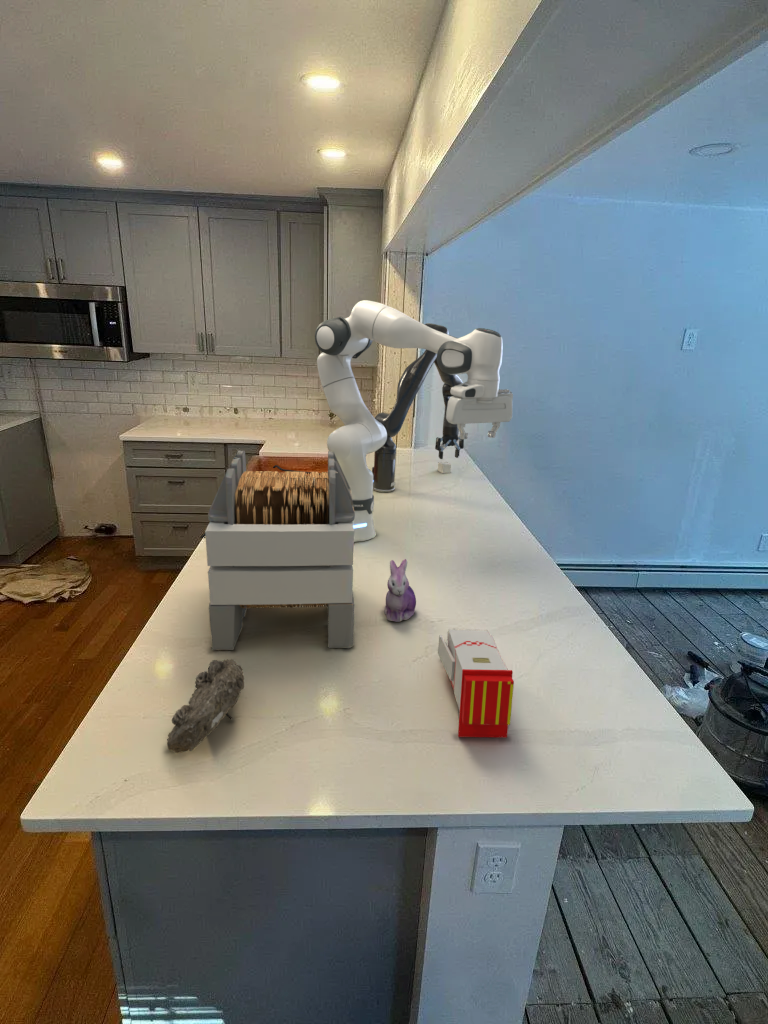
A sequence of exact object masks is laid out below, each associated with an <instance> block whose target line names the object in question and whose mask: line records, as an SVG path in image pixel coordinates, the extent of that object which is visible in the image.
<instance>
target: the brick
mask: <svg viewBox="0 0 768 1024" xmlns="http://www.w3.org/2000/svg"><path fill="white" fill-rule="evenodd" d="M451 471H452V463H450V462H448V461H439V462H437V472H439V473H441V474H451Z"/></svg>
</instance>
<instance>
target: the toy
mask: <svg viewBox="0 0 768 1024" xmlns="http://www.w3.org/2000/svg"><path fill="white" fill-rule="evenodd" d="M446 640H447V643H446V641H445V639H444V636H443V635H442V634H439V637H438V646H437V656H438V657H439V659H440V661H441V663H442V666H443V668H444V670H445V672H446V674H447V677H448V679H449V681H450V684H451V687H452V690H453V693H454V697H455V701H456V705H457V708H458V711H459V714H458V715H459V716H458V730H457V731H458V732H457V737H458V738H508V731H509V726H510V725H511V717H512V707H513V697H514V696H513V695H514V684H515V680H514V679H513V673H514V671H513V670H512V669H508V667H507V665H506V662H505V661H504V659H503V658H502V655H501V653H500V651H499V649H498V647H497V643H496V639H495V637H494V635H493V634H491V632H490V631H489V629H467V628H466V629H465V628H463V629H461V628H460V629H459V628H448V630H447V639H446Z"/></svg>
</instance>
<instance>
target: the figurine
mask: <svg viewBox="0 0 768 1024" xmlns="http://www.w3.org/2000/svg"><path fill="white" fill-rule="evenodd" d="M407 567H408V559H406V558H404V559H403V560H402V561H401V563H400V565H399V566H398V565H397V563H396V562H395V561H394V560H393V559H391V560H390V561H389V570H390V576H389V578H388V579H387V589H388V591H387V592H386V594H385V595H386V596H385V607H384V615H385V616H386V620H387V621H391V622H395V623H400V622H402V621H406V620H409V619H410V618H411V617H413V616H414V615H415V610H416V606H417V597H416V593H415V591H414V590H413V587H411V586H410V582H409V579H408V577H407V574H406V571H407Z"/></svg>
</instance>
